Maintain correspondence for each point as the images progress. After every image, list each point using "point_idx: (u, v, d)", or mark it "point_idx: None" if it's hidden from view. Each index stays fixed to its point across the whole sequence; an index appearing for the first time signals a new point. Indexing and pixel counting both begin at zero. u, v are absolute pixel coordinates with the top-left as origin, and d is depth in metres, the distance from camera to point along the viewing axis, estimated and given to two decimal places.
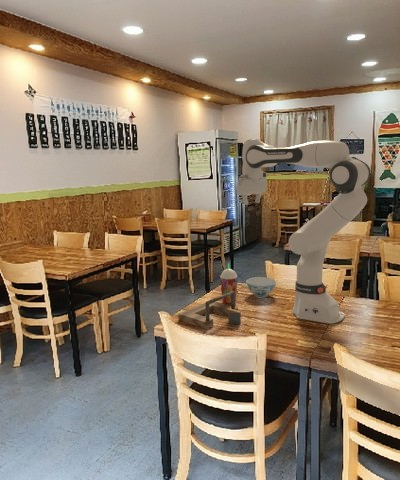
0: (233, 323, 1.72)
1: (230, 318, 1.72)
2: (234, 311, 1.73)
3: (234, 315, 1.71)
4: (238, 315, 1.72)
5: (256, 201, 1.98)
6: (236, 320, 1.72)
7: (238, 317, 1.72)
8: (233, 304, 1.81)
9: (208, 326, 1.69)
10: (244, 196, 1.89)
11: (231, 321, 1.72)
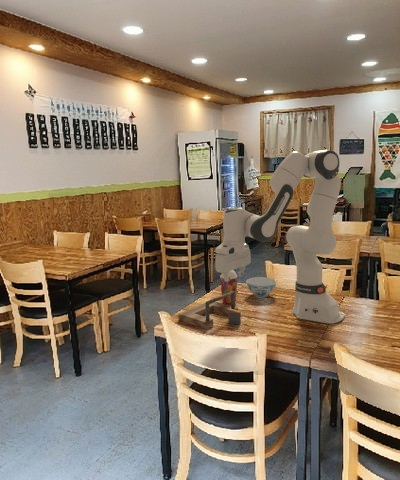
0: (233, 323, 1.72)
1: (230, 318, 1.72)
2: (234, 311, 1.73)
3: (234, 315, 1.71)
4: (238, 315, 1.72)
5: None
6: (236, 320, 1.72)
7: (238, 317, 1.72)
8: (233, 304, 1.81)
9: (208, 326, 1.69)
10: None
11: (231, 321, 1.72)
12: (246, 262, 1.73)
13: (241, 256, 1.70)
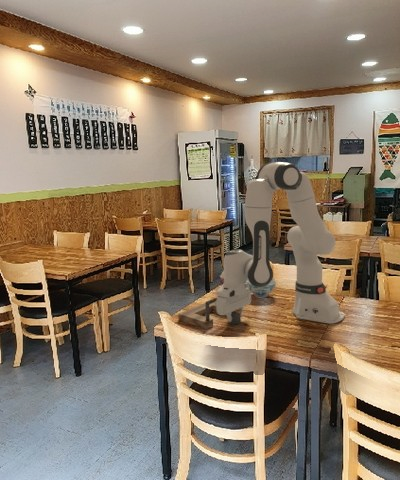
0: (233, 323, 1.72)
1: None
2: (234, 311, 1.73)
3: (234, 315, 1.71)
4: (238, 315, 1.72)
5: None
6: (236, 320, 1.72)
7: (238, 317, 1.72)
8: None
9: (208, 326, 1.69)
10: None
11: (231, 321, 1.72)
12: (246, 302, 1.76)
13: (241, 296, 1.73)
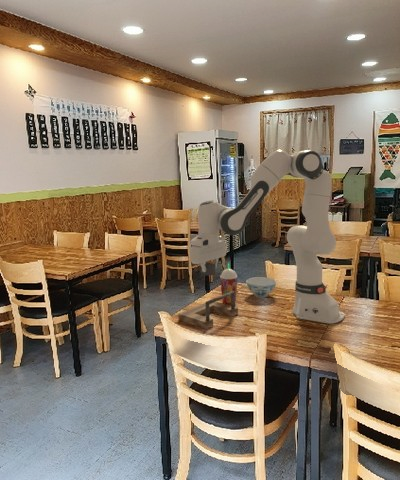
0: (207, 273, 1.75)
1: None
2: (208, 262, 1.76)
3: (208, 265, 1.74)
4: (212, 265, 1.74)
5: None
6: (211, 271, 1.74)
7: (212, 267, 1.74)
8: (233, 304, 1.81)
9: (208, 326, 1.69)
10: None
11: (205, 272, 1.75)
12: (221, 254, 1.79)
13: (216, 248, 1.76)
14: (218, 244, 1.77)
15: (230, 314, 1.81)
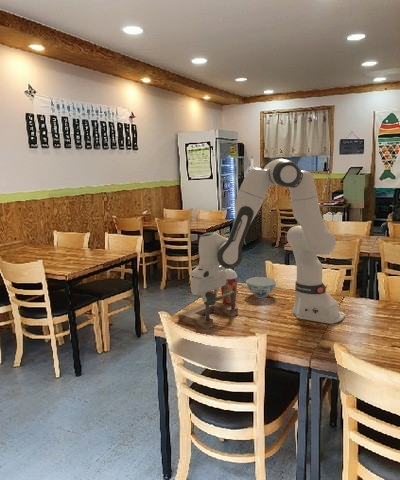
0: None
1: None
2: (209, 292, 1.78)
3: (209, 295, 1.76)
4: (213, 296, 1.77)
5: None
6: None
7: (213, 298, 1.77)
8: (233, 304, 1.81)
9: (208, 326, 1.69)
10: None
11: None
12: (221, 283, 1.81)
13: (216, 278, 1.79)
14: (218, 274, 1.79)
15: (230, 314, 1.81)
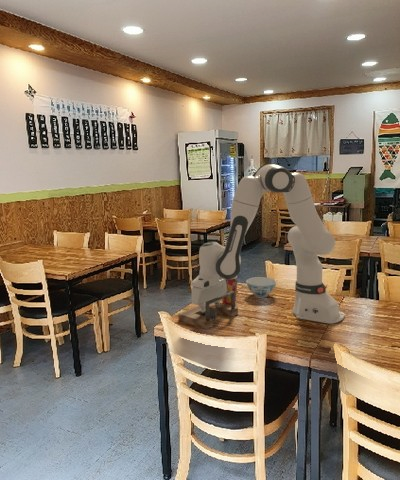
0: None
1: None
2: (210, 306, 1.79)
3: (209, 310, 1.77)
4: (213, 310, 1.78)
5: None
6: (212, 315, 1.78)
7: (213, 312, 1.78)
8: (233, 304, 1.81)
9: (208, 326, 1.69)
10: None
11: None
12: (222, 292, 1.82)
13: (217, 287, 1.79)
14: (219, 283, 1.80)
15: (230, 314, 1.81)
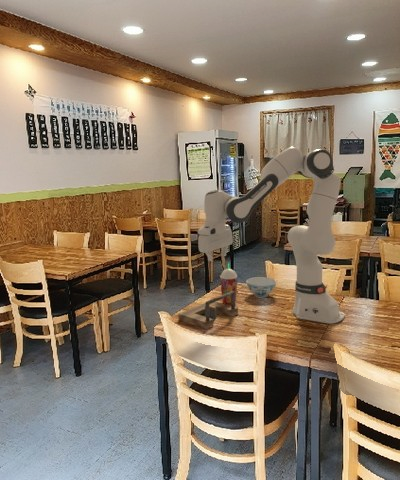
0: None
1: None
2: (210, 306, 1.79)
3: (209, 310, 1.77)
4: (213, 310, 1.78)
5: None
6: (212, 315, 1.78)
7: (213, 312, 1.78)
8: (233, 304, 1.81)
9: (208, 326, 1.69)
10: None
11: None
12: (228, 242, 1.82)
13: (223, 236, 1.79)
14: (225, 232, 1.80)
15: (230, 314, 1.81)
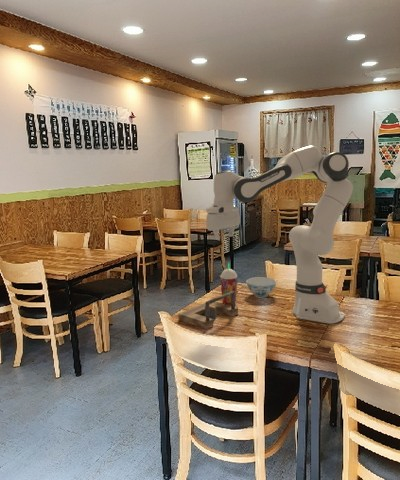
0: None
1: None
2: (210, 306, 1.79)
3: (209, 310, 1.77)
4: (213, 310, 1.78)
5: None
6: (212, 315, 1.78)
7: (213, 312, 1.78)
8: (233, 304, 1.81)
9: (208, 326, 1.69)
10: None
11: None
12: (235, 223, 1.86)
13: (231, 217, 1.83)
14: (232, 213, 1.84)
15: (230, 314, 1.81)
